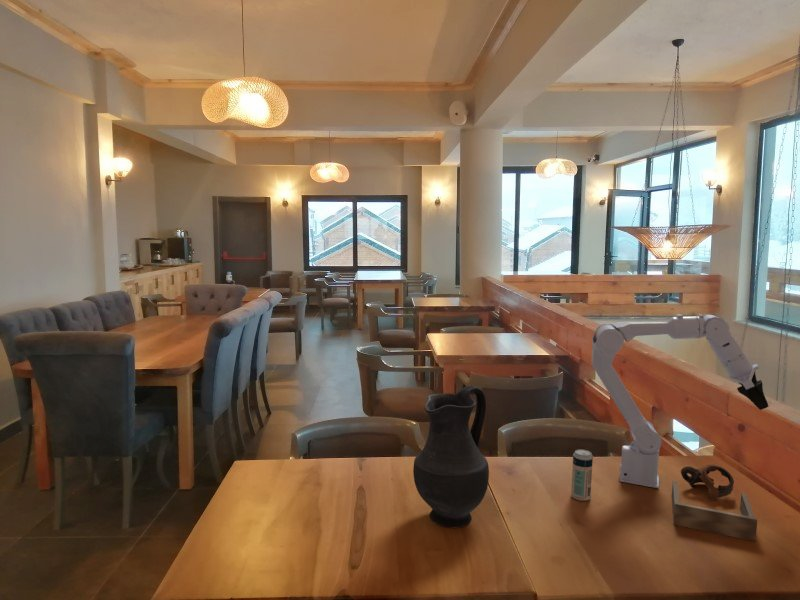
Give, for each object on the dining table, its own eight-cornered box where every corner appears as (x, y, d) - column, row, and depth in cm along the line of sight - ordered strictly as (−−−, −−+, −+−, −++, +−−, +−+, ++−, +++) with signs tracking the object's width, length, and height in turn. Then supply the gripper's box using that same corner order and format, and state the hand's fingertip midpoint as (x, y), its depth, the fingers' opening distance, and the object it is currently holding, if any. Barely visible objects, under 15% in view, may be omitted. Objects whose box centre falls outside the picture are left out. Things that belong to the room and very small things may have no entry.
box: (673, 524, 125) (675, 503, 125) (671, 495, 139) (673, 477, 139) (755, 541, 119) (757, 519, 118) (744, 509, 133) (746, 490, 132)
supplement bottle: (588, 493, 140) (590, 449, 138) (592, 502, 135) (595, 456, 134) (569, 492, 140) (571, 448, 139) (573, 501, 136) (575, 455, 134)
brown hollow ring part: (721, 486, 146) (735, 468, 141) (724, 516, 139) (739, 497, 134) (674, 469, 149) (687, 451, 144) (674, 497, 142) (687, 478, 137)
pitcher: (398, 517, 127) (399, 392, 124) (452, 488, 142) (455, 376, 139) (457, 546, 115) (461, 410, 112) (510, 511, 131) (514, 389, 127)
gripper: (753, 358, 131) (784, 406, 131) (743, 341, 144) (771, 385, 144) (723, 371, 134) (754, 418, 134) (716, 353, 147) (744, 396, 147)
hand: (761, 402), depth 139 cm, fingers open, 7 cm apart
